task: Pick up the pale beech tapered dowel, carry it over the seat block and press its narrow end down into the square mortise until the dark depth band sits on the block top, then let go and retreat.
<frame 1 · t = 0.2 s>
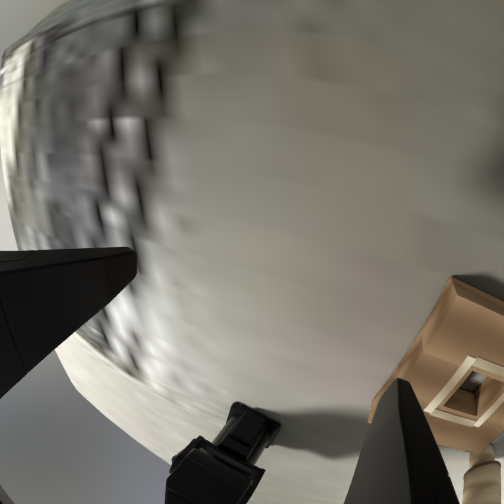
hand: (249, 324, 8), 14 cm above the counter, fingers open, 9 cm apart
seat block: (471, 372, 19), on the counter
peg: (481, 451, 20), on the counter
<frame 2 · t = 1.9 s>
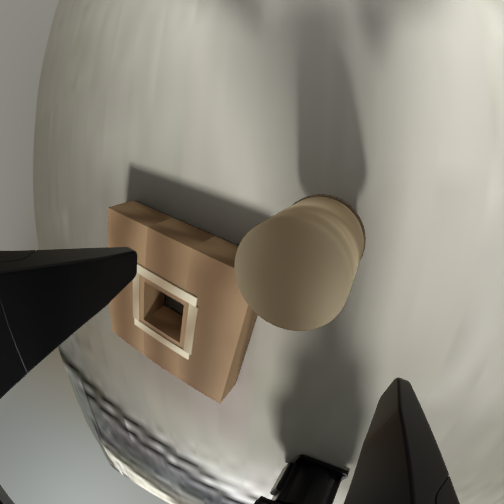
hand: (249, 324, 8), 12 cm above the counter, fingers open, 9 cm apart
seat block: (183, 297, 26), on the counter
peg: (332, 224, 18), on the counter
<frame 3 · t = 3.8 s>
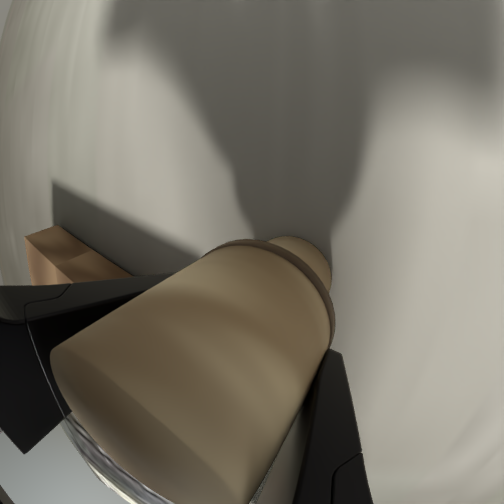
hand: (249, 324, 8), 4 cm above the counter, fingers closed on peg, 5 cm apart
seat block: (117, 345, 19), on the counter
peg: (290, 276, 11), on the counter, touching gripper
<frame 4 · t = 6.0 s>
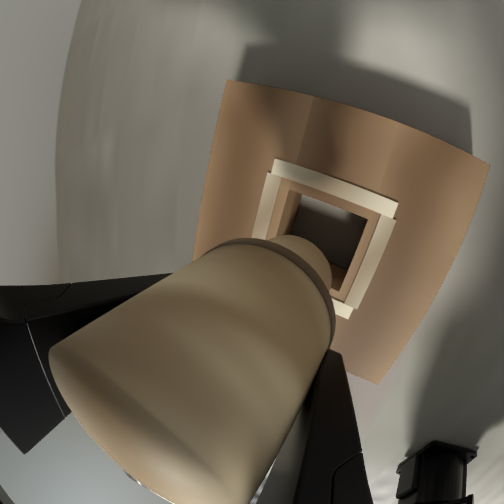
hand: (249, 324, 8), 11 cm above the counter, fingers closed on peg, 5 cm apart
seat block: (327, 227, 17), on the counter
peg: (290, 275, 11), point 7 cm above the counter, touching gripper
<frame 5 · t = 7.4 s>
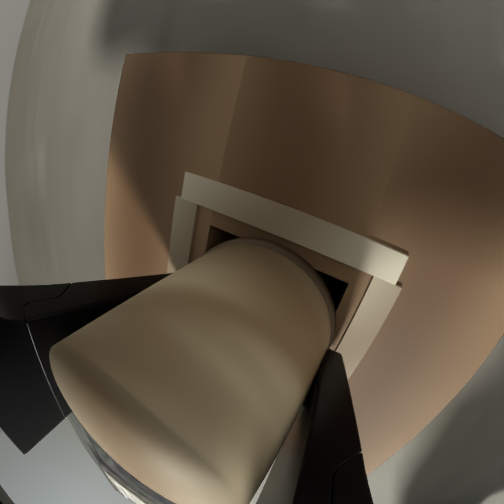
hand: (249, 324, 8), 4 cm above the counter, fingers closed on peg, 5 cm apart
seat block: (290, 275, 11), on the counter
peg: (290, 275, 11), resting in seat block, touching gripper
when the fingers open (4 cm above the counter, at t = 8.2 s): peg stays where it is, resting on seat block.
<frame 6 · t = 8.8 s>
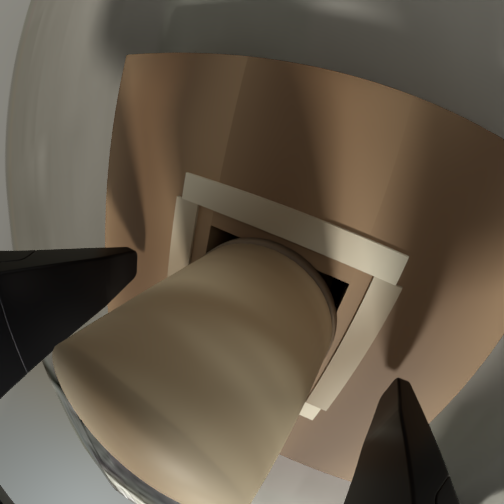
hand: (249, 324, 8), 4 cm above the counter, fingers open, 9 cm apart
seat block: (290, 275, 11), on the counter
peg: (291, 275, 11), resting on seat block
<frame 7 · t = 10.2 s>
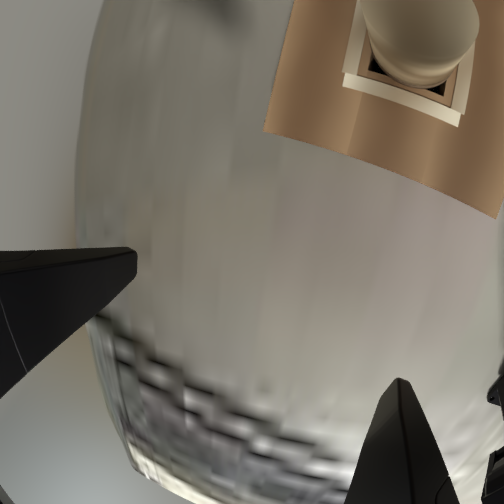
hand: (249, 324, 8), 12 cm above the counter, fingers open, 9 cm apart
seat block: (409, 64, 13), on the counter
peg: (410, 63, 13), resting on seat block
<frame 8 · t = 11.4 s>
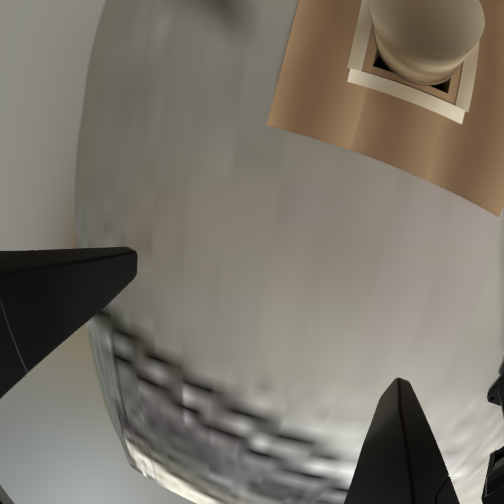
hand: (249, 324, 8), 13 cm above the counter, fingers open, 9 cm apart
seat block: (414, 61, 13), on the counter
peg: (414, 61, 13), resting on seat block
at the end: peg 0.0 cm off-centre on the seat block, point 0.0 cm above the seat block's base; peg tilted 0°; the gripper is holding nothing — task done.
